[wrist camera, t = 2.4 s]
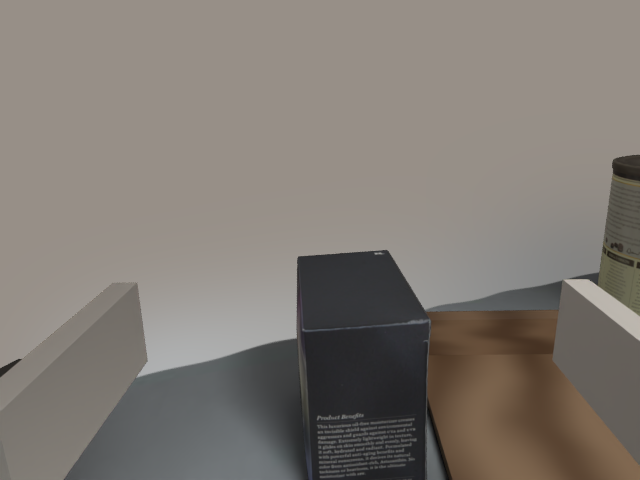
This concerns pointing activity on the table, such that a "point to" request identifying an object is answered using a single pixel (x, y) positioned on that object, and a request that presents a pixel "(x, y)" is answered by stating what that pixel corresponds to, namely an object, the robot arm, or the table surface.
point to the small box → (361, 368)
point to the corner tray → (513, 403)
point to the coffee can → (623, 235)
